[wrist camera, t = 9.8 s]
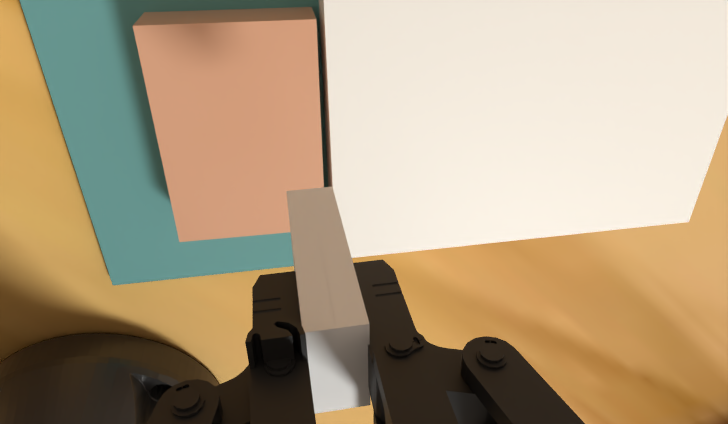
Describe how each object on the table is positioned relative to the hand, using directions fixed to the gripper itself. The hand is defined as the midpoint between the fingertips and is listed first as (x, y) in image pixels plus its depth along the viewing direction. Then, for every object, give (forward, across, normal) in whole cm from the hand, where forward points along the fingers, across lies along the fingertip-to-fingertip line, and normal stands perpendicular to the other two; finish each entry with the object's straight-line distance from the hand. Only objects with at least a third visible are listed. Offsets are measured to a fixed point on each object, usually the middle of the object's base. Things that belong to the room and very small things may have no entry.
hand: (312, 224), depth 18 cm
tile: (+10, +2, 0) cm, 10 cm away
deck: (+10, -12, 0) cm, 15 cm away
